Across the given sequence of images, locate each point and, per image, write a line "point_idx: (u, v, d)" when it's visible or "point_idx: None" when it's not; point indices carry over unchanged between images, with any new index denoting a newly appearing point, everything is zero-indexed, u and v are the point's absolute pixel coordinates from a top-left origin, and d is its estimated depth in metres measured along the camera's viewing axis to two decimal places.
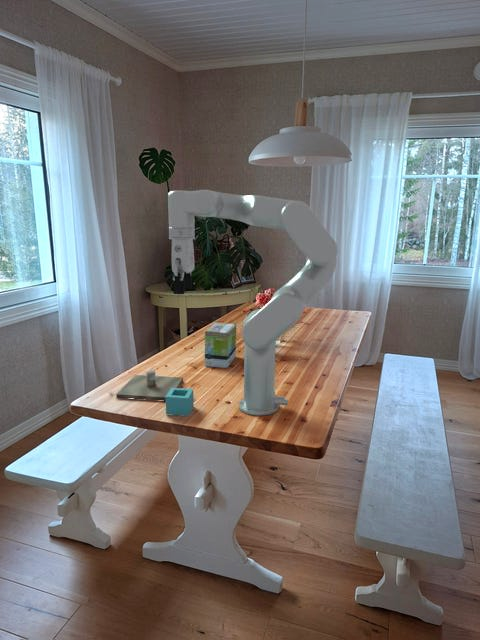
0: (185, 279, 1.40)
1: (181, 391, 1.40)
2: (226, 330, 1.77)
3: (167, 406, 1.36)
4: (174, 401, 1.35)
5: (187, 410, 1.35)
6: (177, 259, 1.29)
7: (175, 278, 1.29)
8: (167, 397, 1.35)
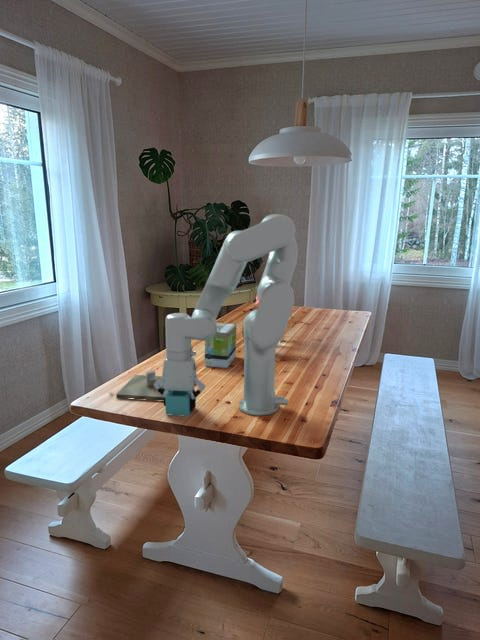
0: None
1: (181, 391, 1.40)
2: (226, 330, 1.77)
3: (167, 406, 1.36)
4: (174, 401, 1.35)
5: (187, 410, 1.35)
6: (195, 378, 1.36)
7: None
8: (167, 397, 1.35)
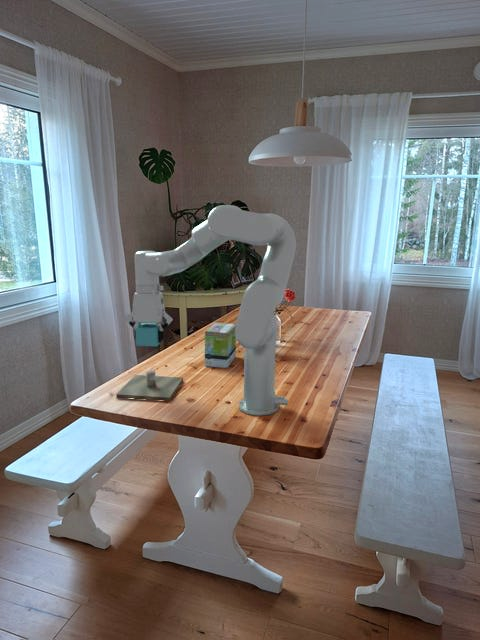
0: None
1: (151, 325, 1.52)
2: (226, 330, 1.77)
3: (137, 337, 1.48)
4: (143, 332, 1.47)
5: (155, 340, 1.47)
6: (163, 311, 1.48)
7: None
8: (137, 328, 1.47)
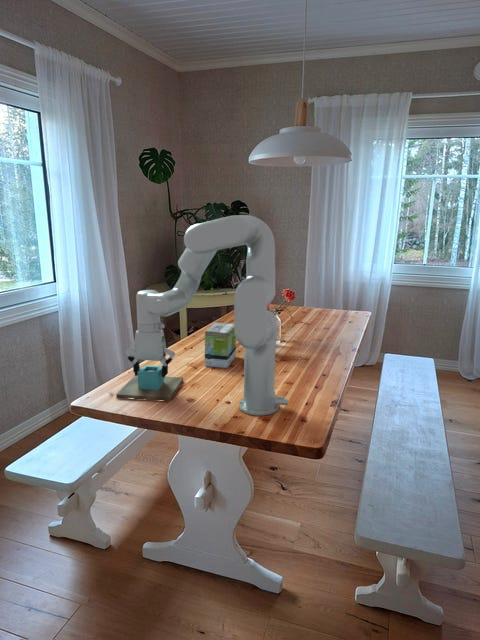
0: (137, 366, 1.54)
1: (152, 368, 1.56)
2: (226, 330, 1.77)
3: (139, 381, 1.51)
4: (145, 376, 1.51)
5: (157, 384, 1.51)
6: (164, 347, 1.51)
7: (168, 363, 1.52)
8: (139, 372, 1.51)
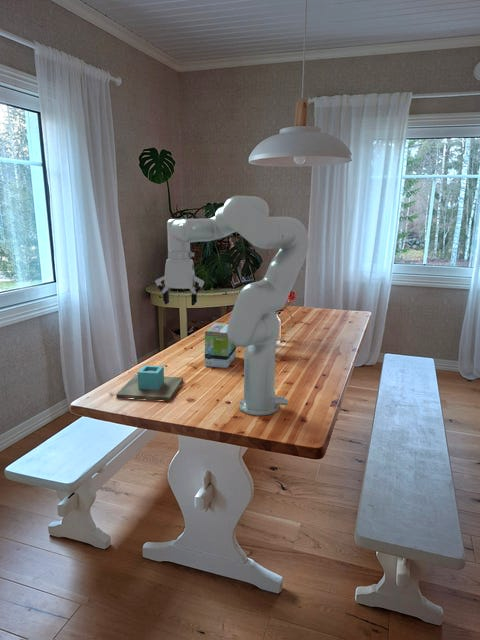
0: (167, 295, 1.58)
1: (152, 368, 1.56)
2: (226, 330, 1.77)
3: (139, 381, 1.51)
4: (145, 376, 1.51)
5: (157, 384, 1.51)
6: (193, 276, 1.55)
7: None
8: (139, 372, 1.51)
